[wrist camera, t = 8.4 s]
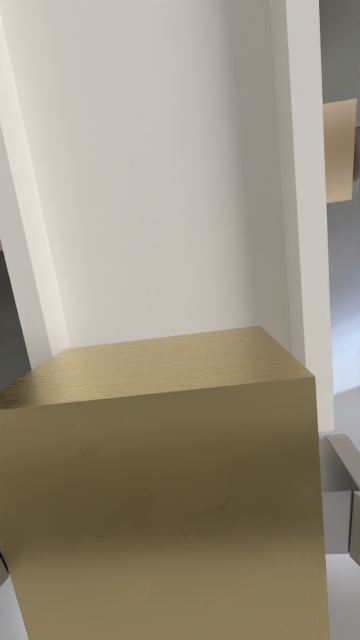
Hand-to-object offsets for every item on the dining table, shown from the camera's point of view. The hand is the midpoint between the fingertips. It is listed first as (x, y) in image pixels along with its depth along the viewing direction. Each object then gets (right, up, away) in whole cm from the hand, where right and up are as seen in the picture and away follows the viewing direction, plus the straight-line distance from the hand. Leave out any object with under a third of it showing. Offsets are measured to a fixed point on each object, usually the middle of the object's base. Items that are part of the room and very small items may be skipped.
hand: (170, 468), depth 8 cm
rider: (0, +1, +1) cm, 2 cm away
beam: (-1, +11, +7) cm, 13 cm away
